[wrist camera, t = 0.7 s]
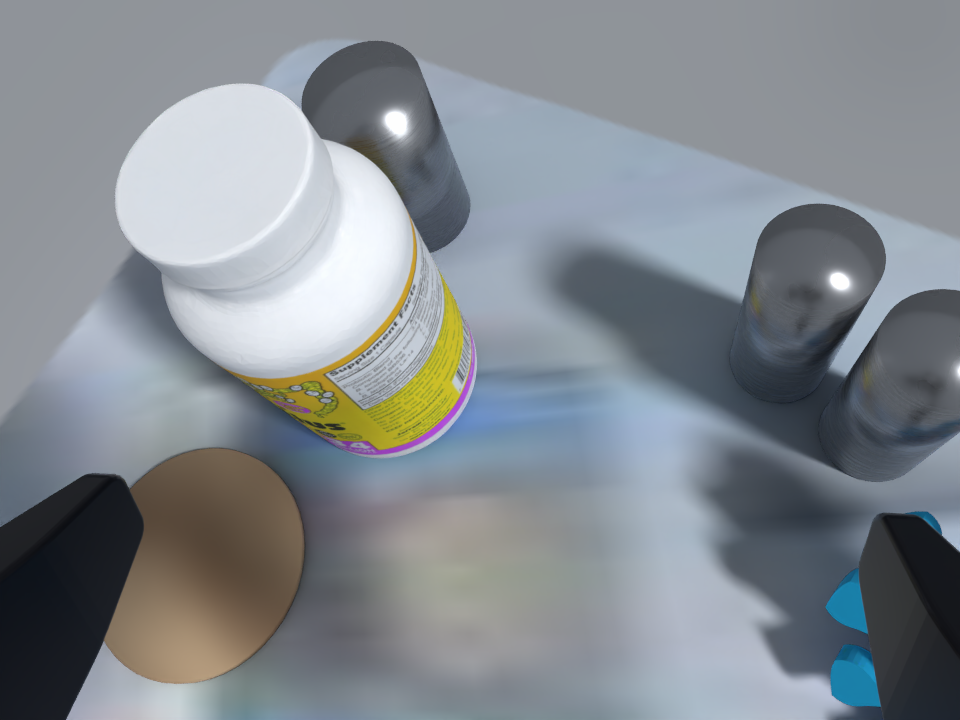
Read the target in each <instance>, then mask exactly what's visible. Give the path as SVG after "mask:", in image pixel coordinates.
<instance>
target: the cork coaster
mask: <svg viewBox="0 0 960 720" xmlns="http://www.w3.org/2000/svg"><path fill="white" fill-rule="evenodd" d="M130 492H131V494H132V496H133V498H134V500H135V502H136V504H137V506H138V508H139V510H140V512H141V514H142V516H143V520H144V532H143V536H142V540H141V542H140V545H139V548H138V551H137V553H136V556H135V559H134V561H133V564H132V567H131V569H130V572H129V575H128V577H127V580H126V583H125V586H124V588H123V591H122V594H121V596H120V599H119V602H118V604H117V607H116V610H115V613H114V615H113V618H112V621H111V623H110V626H109V629H108V631H107V633H106V636H105V638H104V641H105V643H106V645H107V647H108V648H109V649H110V650H111V652H112V653H113V654H114V656H115V657H116V658H117V659H118V660H119V661H120V662H121V663H123V664H124V665H125V666H126V667H127V668H129V669H130V670H132V671H133V672H135V673H136V674H139V675H141V676H143V677H145V678H148V679H150V680H154V681H158V682H162V683H174V684H182V683H196V682H200V681H205V680H209V679H212V678H215V677H218V676H220V675H223V674H225V673H227V672H229V671H231V670H233V669H234V668H236V667H238V666H240V665H241V664H242V663H244V662H245V661H246V660H248V659H249V658H251V657H252V656H253V655H254V654H255V653H256V652H257V651H258V650H260V649H261V648H262V647H263V646H264V645H265V644H266V642H267V641H268V640H269V639H270V638H271V637H272V635H273V634H274V633H275V632H276V630H277V629H278V627H279V626H280V624H281V623H282V621H283V620H284V618H285V616H286V614H287V612H288V611H289V609H290V607H291V605H292V602H293V600H294V597H295V595H296V592H297V590H298V586H299V583H300V579H301V575H302V570H303V563H304V552H305V539H304V529H303V523H302V519H301V515H300V511H299V509H298V506H297V503H296V501H295V499H294V497H293V495H292V493H291V491H290V489H289V488H288V486H287V485H286V484H285V482H284V481H283V480H282V478H281V477H280V476H279V475H278V474H277V473H276V472H274V471H273V470H272V469H271V468H270V467H268V466H267V465H266V464H264V463H263V462H261V461H259V460H257V459H255V458H253V457H251V456H249V455H247V454H245V453H241V452H238V451H235V450H229V449H222V448H209V449H201V450H195V451H191V452H187V453H184V454H181V455H179V456H176V457H174V458H171V459H169V460H167V461H166V462H164V463H162V464H160V465H158V466H157V467H156V468H154V469H153V470H151V471H150V472H148V473H147V474H146V475H145V476H144V477H142V478H141V479H140V480H139V481H138V482H137V483H136V484H135V485H134V486H133V487H132V488H131V489H130Z"/></svg>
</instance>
